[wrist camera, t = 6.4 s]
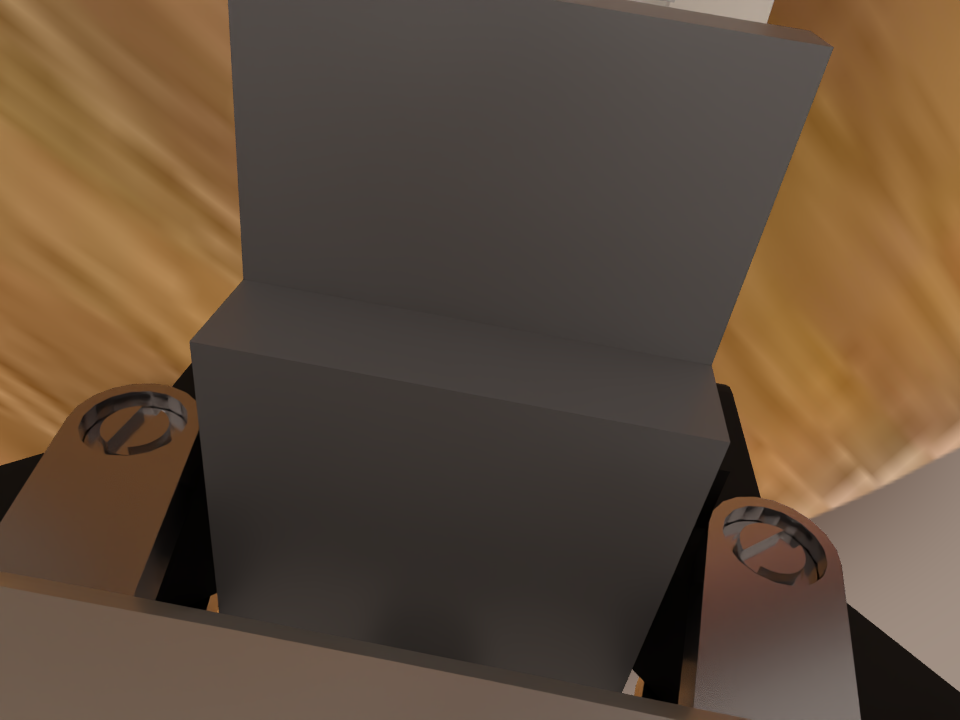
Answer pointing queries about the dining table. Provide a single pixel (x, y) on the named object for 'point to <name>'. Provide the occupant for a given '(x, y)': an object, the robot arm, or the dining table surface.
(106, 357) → the dining table surface
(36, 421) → the dining table surface
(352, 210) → the servo
